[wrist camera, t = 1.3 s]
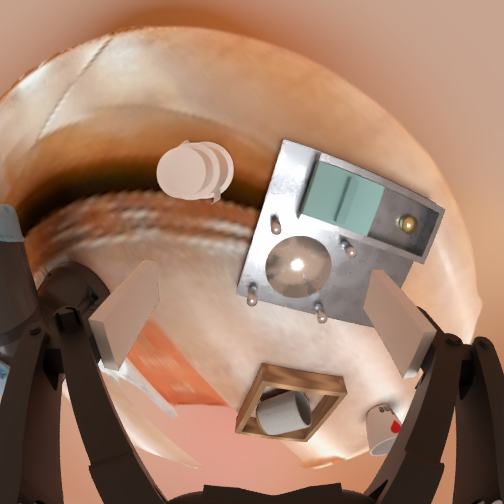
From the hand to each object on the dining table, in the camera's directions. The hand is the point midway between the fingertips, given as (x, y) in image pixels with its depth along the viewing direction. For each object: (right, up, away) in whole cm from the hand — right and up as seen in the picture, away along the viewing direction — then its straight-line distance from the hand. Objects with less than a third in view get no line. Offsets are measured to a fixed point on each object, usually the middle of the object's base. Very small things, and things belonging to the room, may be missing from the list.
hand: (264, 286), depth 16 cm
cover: (+9, +8, +13) cm, 18 cm away
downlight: (-6, +12, +16) cm, 21 cm away
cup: (+27, -33, +32) cm, 53 cm away
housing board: (+11, +3, +19) cm, 22 cm away
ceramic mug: (+6, -26, +30) cm, 40 cm away
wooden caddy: (+6, -26, +30) cm, 40 cm away
